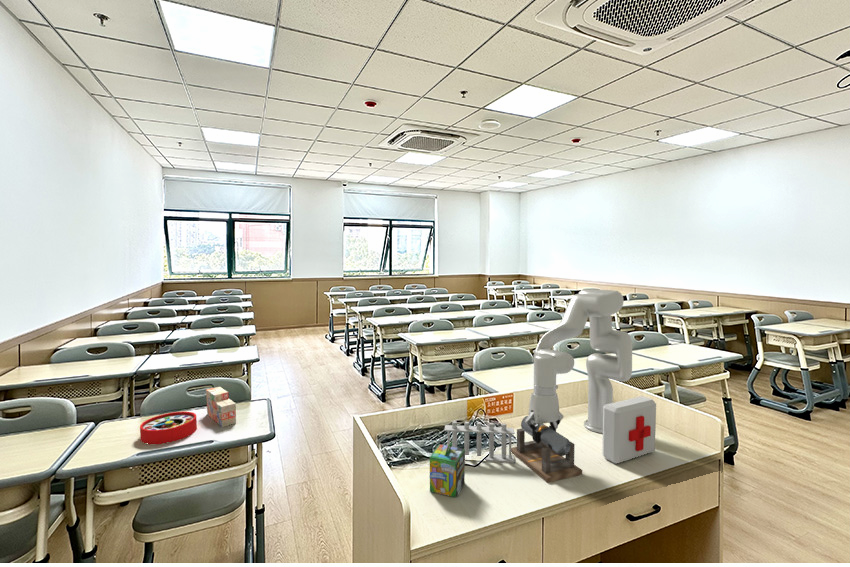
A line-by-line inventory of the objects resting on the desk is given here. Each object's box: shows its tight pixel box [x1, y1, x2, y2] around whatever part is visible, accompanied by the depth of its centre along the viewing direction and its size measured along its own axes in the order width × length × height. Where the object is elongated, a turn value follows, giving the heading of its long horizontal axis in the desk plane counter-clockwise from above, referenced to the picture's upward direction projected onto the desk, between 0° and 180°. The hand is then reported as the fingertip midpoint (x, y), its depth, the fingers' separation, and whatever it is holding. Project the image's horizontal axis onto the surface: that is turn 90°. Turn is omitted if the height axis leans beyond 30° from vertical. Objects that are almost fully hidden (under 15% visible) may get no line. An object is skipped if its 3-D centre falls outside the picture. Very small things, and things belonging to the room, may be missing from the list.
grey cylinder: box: [520, 415, 571, 457], centre depth 139 cm, size 6×20×6 cm, turn 20°
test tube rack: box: [443, 420, 516, 464], centre depth 143 cm, size 25×4×13 cm, turn 83°
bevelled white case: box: [601, 395, 657, 465], centre depth 143 cm, size 21×8×20 cm, turn 115°
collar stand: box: [511, 428, 583, 484], centre depth 140 cm, size 14×22×10 cm, turn 20°
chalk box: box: [429, 440, 466, 498], centre depth 125 cm, size 9×9×15 cm
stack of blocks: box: [205, 386, 237, 428], centre depth 182 cm, size 21×6×12 cm, turn 44°
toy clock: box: [139, 411, 198, 445], centre depth 167 cm, size 20×6×20 cm
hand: (544, 439), depth 139 cm, fingers closed on grey cylinder, 6 cm apart
